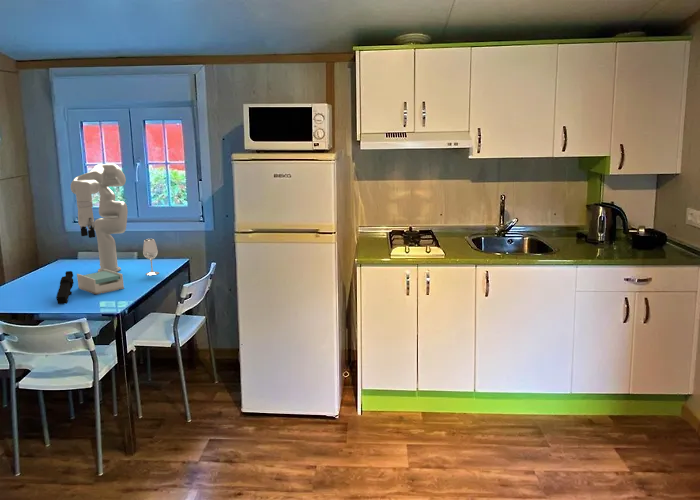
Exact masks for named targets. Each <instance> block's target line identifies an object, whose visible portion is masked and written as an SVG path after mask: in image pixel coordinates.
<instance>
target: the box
mask: <svg viewBox="0 0 700 500" xmlns="http://www.w3.org/2000/svg"><path fill="white" fill-rule="evenodd" d="M104 271H106V272H110V273H113V274H116V275H119V279H117V280H112V281H108V282H103V283H98V284H96V281H95V279H92V278H89V277H86V276H83V275H84V274H80V273H76V278H77V285H78V289H79V290H81V291H85V292H87V293H91V294H93V295H95V296H96V295H101V293H102V294H105V293H111V292H115V291H119V289H120V290H123V289H125V286H124V285H125V284H124V277H123V276H124V275H123V273H120V272H118V271H117V272H114V271H111V270H107V269H104Z"/></svg>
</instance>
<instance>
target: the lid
mask: <svg viewBox="0 0 700 500" xmlns="http://www.w3.org/2000/svg"><path fill="white" fill-rule="evenodd" d="M82 275H83V276H86V277H89V278H92V279H95V281H96V284H98V283H103V282H108V281H112V280H117V279H119V275H116V274H113V273H110V272H106V271H102V272H98V271H96V272H92V273H87V274H82Z"/></svg>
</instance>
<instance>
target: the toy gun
mask: <svg viewBox="0 0 700 500" xmlns="http://www.w3.org/2000/svg"><path fill="white" fill-rule="evenodd" d="M64 273H65V276H62V277H61V279H60V281H59V288H58V290H57V294H56V297H55V298H56V301H57V302H56V303H57V305H64V303H66V304H68V301H69V297H70V296H72V294H73V293H72V291H71V290H72V289H73V286H74V283H75V282H74V279H73V277H74V273H73V271H72V270H67V271H65V272H64Z"/></svg>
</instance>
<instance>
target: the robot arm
mask: <svg viewBox="0 0 700 500" xmlns="http://www.w3.org/2000/svg"><path fill="white" fill-rule="evenodd" d="M126 180H127V179H126V175H125V173H124V172H123V170H122V168H120V167H119V166H118V165H117V164H115V163H100V164H96V165H94V166H93V168H91V170H90V171H89V172H85V173H83V174H80V175H78V176H75V177H74V178H73V180H72V181H71V183H70V191H71V192H72V194H74V195H75V197H76V207H77V220H78V221H77V222H78V226H80V227H79V228H80V235H81V237H86V236H88V238H89V239H92V238H96V240H97V241H96V242H97V250H98V257H99V268H98V269H97V272H102V271H104V269H107V270H111V271H114V272H117V273H118V272H119V271H121V270H122V268H121V267H120V266H119V265H118V258H117V247H116V240H115V238H114V237H113V236H112V235H113V234H118V235H119V234H123V233H125V232H126V231H127V226H128V225H127V223H128V212H129V211H128V205H127V203H126V202H124V201H121V200H116V194H115V193H114V192H113V190H111V188H110V187H115V188H116V187H123V186H124V185H126V182H127V181H126ZM97 193H99V203H98V205H99V206H98V214H99V216H100V218H97V219H94V217H95V216H94V211H93V208H94V206H93V205H94V203H93V196H92V195H94V194H97Z"/></svg>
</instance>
